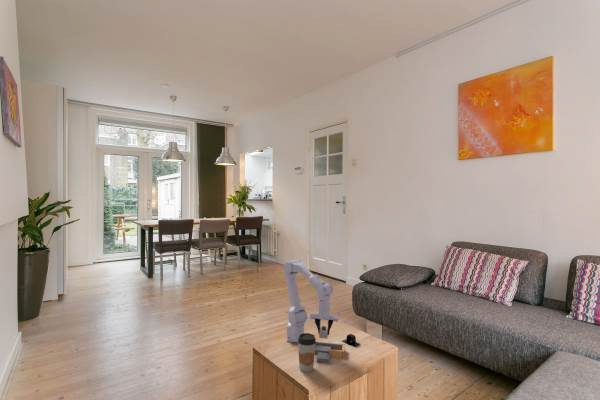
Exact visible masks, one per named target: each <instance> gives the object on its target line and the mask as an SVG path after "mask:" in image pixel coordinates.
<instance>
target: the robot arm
mask: <svg viewBox="0 0 600 400" xmlns="http://www.w3.org/2000/svg"><path fill="white" fill-rule="evenodd" d="M283 271H284V277H285V282H286V287H287V291H288V298H289V303H290V308H289V310H288V317H287V318H288V323H287V326H286V341H285V342H288V343H290V342H291V343H298V338H299V335H300V334H303V333H305V324H306V321H307V320H308V313H307V312H306V310H305V309H306V308H305V306H303V305H302V304H301V300H300V295H299V290H298V286H297V282H296V277H297V275H298V274H299V273H300V274H301V275H302V276H304V278H306V279H307V280H308V283H309V285H311V286H312V287H313V289H315V290H316V293H317V295H318V297H317V298H318V313H315V314H314V313H313V314H309V319H310V320H314V324H315V326H316V327H317V331H318V334H319V332H320V327H321V321H327V328H328V336H330V332H331V331H330V330H331V328H332V325H334V322H337V323H338V322H339V316H335V315H331V294H332V293H333V291H334V289H333V286H332V284H331V283H328V282H325V280H323V279H322V278H320V276H319V275H318V274H313V273H312V272H311V271H310V270H309V269H308V268H307V266H305V263H304V261H302V260H301V259H293V260H287V261H285V263H284V265H283Z"/></svg>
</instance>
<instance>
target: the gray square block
mask: <svg viewBox="0 0 600 400" xmlns="http://www.w3.org/2000/svg"><path fill="white" fill-rule="evenodd" d="M331 358H332V357H331V354H330V353H321V352H319V353H318V354H317V356H316V363H321V364H322V363H323V364H330V362H331Z"/></svg>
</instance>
